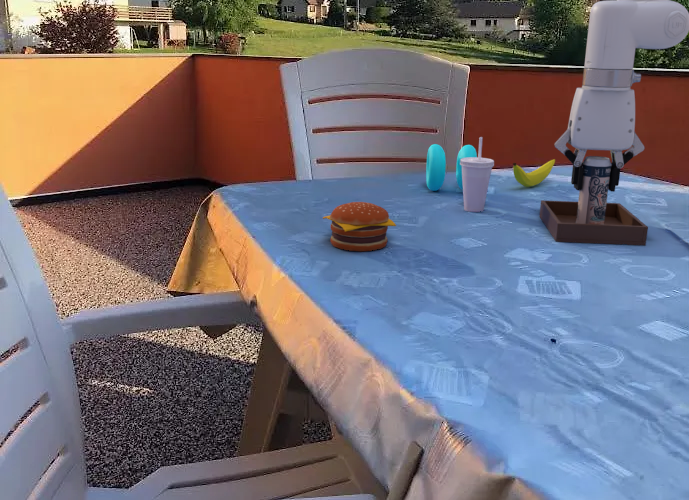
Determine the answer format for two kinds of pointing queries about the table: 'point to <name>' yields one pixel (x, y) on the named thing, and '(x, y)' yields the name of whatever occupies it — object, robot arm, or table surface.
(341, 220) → the hamburger
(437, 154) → the donuts
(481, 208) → the smoothie
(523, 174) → the banana
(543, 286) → the table surface
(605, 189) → the beer can
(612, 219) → the tray
